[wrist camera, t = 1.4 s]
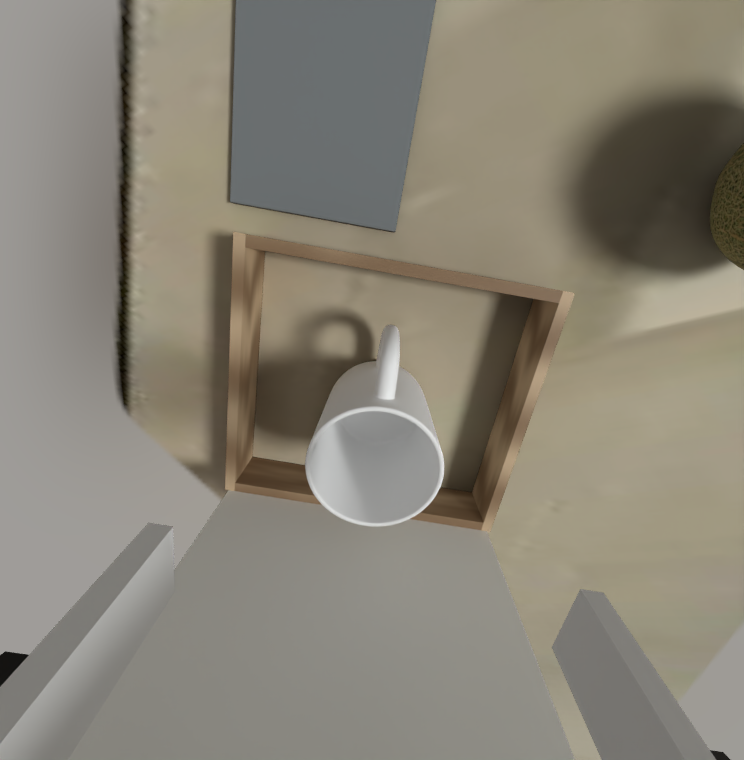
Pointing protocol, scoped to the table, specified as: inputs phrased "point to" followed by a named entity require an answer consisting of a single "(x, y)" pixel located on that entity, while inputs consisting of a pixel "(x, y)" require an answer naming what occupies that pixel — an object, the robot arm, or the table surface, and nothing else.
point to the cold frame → (541, 320)
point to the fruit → (730, 210)
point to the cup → (376, 444)
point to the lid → (331, 648)
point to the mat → (326, 105)
